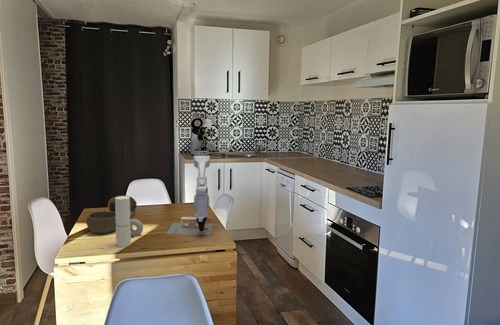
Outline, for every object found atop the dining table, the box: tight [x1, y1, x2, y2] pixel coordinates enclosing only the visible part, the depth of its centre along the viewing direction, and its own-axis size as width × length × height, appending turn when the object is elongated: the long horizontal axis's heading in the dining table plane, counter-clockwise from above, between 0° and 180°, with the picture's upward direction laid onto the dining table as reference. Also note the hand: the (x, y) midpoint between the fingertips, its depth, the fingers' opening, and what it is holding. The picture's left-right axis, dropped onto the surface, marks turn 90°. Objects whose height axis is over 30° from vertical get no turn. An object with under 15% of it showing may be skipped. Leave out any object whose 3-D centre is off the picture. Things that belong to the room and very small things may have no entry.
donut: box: [130, 218, 144, 237], centre depth 204 cm, size 10×4×10 cm, turn 79°
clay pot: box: [107, 194, 138, 217], centre depth 246 cm, size 15×15×25 cm
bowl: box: [86, 210, 116, 235], centre depth 211 cm, size 17×18×10 cm
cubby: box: [165, 216, 214, 236], centre depth 217 cm, size 21×25×6 cm
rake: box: [198, 227, 208, 234], centre depth 212 cm, size 10×6×7 cm, turn 1°
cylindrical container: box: [115, 195, 132, 248], centre depth 190 cm, size 7×7×25 cm
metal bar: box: [171, 226, 178, 235], centre depth 213 cm, size 10×2×1 cm, turn 1°
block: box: [187, 220, 197, 229], centre depth 219 cm, size 4×4×4 cm
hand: (201, 230), depth 208 cm, fingers closed on rake
